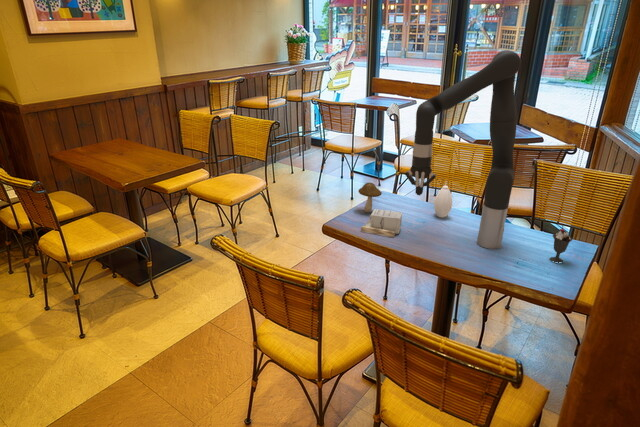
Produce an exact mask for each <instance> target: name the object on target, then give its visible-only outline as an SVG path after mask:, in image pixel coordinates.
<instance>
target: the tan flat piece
mask: <svg viewBox="0 0 640 427" xmlns="http://www.w3.org/2000/svg"><path fill="white" fill-rule="evenodd" d="M401 222H403V221H402V219H401ZM370 224H371V214H370V215H369V219H368V221H367V222H366V223H365V225H361V227H360V228H361V229H360V232H362V233H366V234H370V235H372V234H373V235H377V236H383V237H386V238H387V237H388V238H395V236H396V234H397V233H395V232H394V231H389V230H383V229H378V228H372V227H370Z"/></svg>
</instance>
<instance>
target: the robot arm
mask: <svg viewBox="0 0 640 427" xmlns="http://www.w3.org/2000/svg"><path fill="white" fill-rule="evenodd" d="M521 60H522V59H521V57H520V56H519V54H518V53H517V52H515V51H512V50H509V49H508V50H506V49H505V50H501V51H499V52H498V53H496V54H495V55H494V56H493V57H492V59H491V62H490V63H488V64H487V65H485V66H484V67H483V68H482V69H480V70H478V71H477V72H476V73H474V74H472V75H469V76H468V77H466V78H464V79H461V80H460V81H458V82H456V83H454V84H453V85H451V86H449V87H448V88H446V89H444V90H443V91H441V92H440V93H439V94H437V95H434V96H433V97H430V98H428V99H426V100H425V101H423V102H422V103H420V104H419V106H418V107H417V110H416V112H415V132H414V140H413V141H414V143H413V147H412V148H413V149H412V159H411V167H410V169H409V170H407V171H405V173H404V175H405V177H406V178H407V180H408V181H409V182H410V184H411V185H412V186H415V195H416V196H421V195H423V193H424V187H428V186H429V185H430V184H431V183H432V182H433V181H434V180H435V179H436V177H437V174H436V173H434V172H433V170H432V160H433V159H432V158H433V150H434V148H433V140H434V125H435V120H436V119H435V118H436V116H437V115H439V114H441V113H442V112H443V111H447V110H451V109H452V108H455V106H458V105H459V104H461V103H463V101H465V100H467V99H469V98H470V97H472V96H474V95H475V94H477V93H478V92H480V91H481V90H484V89H486V88H488V87H490V86H492V95H491V96H492V97H491V103H490V112H489V114H490V116H489V136H490V137H489V138H490V144H491V150H492V159H491V166H490V167H491V168H490V171H489V174H488V175H487V179H486V184H485V191H484V195H483V199H484V200H483V205H482V212H481V216H480V221H479V227H478V233H477V234H478V235H477V237H476V244H478V246H480V247H483V248H486V249H488V250H489V249H491V250H494V249H499V250H500V249H501V246H502V240H503V237H504V232H505V226H506V225H505V223H506V220H507V214H508V209H509V205H510V199H511V194H512V190H513V184H514V180H515V168H514V147H515V142H516V135H517V125H518V124H517V121H518V119H517V118H518V115H517V112H518V111H517V103H516V96H515V81H516V74H517V73H518V72H519V70H520V69H521V67H522V66H521V64H522V61H521ZM428 177H429V178H428ZM427 178H428V180H426V181H425V179H427Z"/></svg>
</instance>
